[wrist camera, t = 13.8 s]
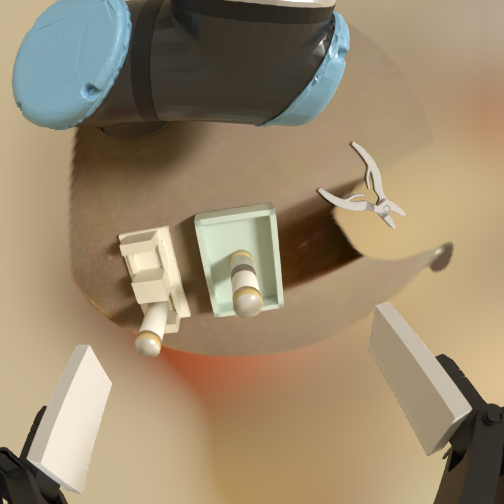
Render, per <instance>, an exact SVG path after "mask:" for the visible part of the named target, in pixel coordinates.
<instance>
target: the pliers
mask: <svg viewBox="0 0 504 504" xmlns="http://www.w3.org/2000/svg"><path fill="white" fill-rule="evenodd" d="M351 145H352V146H353V147H354V148H355V149H356V150H357V151H358V152H359V154H360V155H361V156H362V157H363V159H364V160H365V162H366V164H367V172H366V181H365V183H366V187H367V189H370V186H369V174H370V171H371V174H372V177H371V178H372V185H373V190H374V192H375V193H376V195H377V196H378V199H377V202H376V204H373V203H370V202H368V201H366V200H362V201H350V200H351V199H352V198H354V197H356V196H365V194H361V193H355V194H352V195H349V196H348V197H346V198H344V199H340V198H338V197H335V196H333V195H331V194H329V193H327V192H326V191H324V190H322V189H321V188H319V189H318V191H319V192H320V193H321V194H322V195H323V196H324V197H325V198H326V199H327V200H329V201H330V202H331V203H333V204H335V205H337V206H339V207H341V208H344V209H348V210H352V211H360V210H370V211H374V212H377V213H378V215H379V216H380V217H381V218H382V219H383V220H384V221H385V222H386V223H387V224H388V225H389V226H390V227H392V228H393V229H394V228H395V227H396V226H395V224H394V222H393V221H392V219H391V217H390V215H389V214H388V213H389V211H391V210H392V211H394V212H396V213H398V214H400V215H402V216H404V215H405V212H403V211H402V210H401V209H400V208H399V207H398V206H397V205H395V204H394V203H393V202H391V201H389V200H387V198H386V196H385V195H384V193H383V189H382V181H381V175H380V172H379V170H378V167H377V165H376V164H375V162H374V160H373V159H372V157H371V156H370V155H369V154H368V153H367V152H366V151H365V150H364V149H363V148H362V147H361V146H359V145H358V144H356V143H355V142H352V143H351Z"/></svg>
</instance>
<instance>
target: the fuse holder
mask: <svg viewBox="0 0 504 504" xmlns="http://www.w3.org/2000/svg"><path fill="white" fill-rule="evenodd" d="M119 240H120V243H121V244H120V245H119V246H120V250H121V253H122V256H124V257H125V260H126V263H127V266H128V270H129V273H130V276H131V279H132V283H131V284H132V287H133V290H134V293H135V296H136V299H137V302H138V304H140V305H141V308H142V311H143V313H144V316H145V314H146V311H147V308H148V305H149V303H152V302H160V301H168V298H169V295H170V296H171V299H172V303H171V307H170V310H169V313H168V317H167V321H166V325H165V330H164V333H173V332H178V329H179V324H180V318H182V317H190V310H189V307H188V303H187V300H186V296H185V292H184V288H183V285H182V281H181V277H180V273H179V269H178V265H177V261H176V257H175V253H174V249H173V245H172V240H171V236H170V232H169V227H168V225H166V226H160V227H155V228H149V229H144V230H138V231H133V232H127V233H122V234H120V235H119Z"/></svg>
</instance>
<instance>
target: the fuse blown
mask: <svg viewBox="0 0 504 504" xmlns="http://www.w3.org/2000/svg"><path fill="white" fill-rule="evenodd" d="M230 268H231V283H232V296H233V297H232V301H233V310H234V312H235V313H236V314H237V315H238V316H240V317H244V318H251V317H254V316H256V315H258V314H259V313H260V312H261V310H262V308H263V302H262V297H261V294H260V290H259V286H258V282H257V276H256V272H255V268H254V262H253V258H252V255H251V254H250V253H249V252H248V251H246V250H237V251H235V252H234V253H233V254H232V255H231V257H230Z"/></svg>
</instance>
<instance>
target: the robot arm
mask: <svg viewBox="0 0 504 504" xmlns="http://www.w3.org/2000/svg"><path fill="white" fill-rule="evenodd" d="M335 4H336V0H130V1H124V0H58V1H56V2H55V3H54V4H52V5H51V6H50V7H49V8H47V9H46V10H45V11H44V12H43V13H42V14H41V15H40V17H38V19H37V20H36V22H35V24H34V25H33V27H32V28H31V29H30V30H29V32H27V34H26V35H25V37H24V39H23V41H22V43H21V45H20V48H19V50H18V53H17V56H16V59H15V64H14V68H13V77H12V85H13V86H12V87H13V95H14V99H15V102H16V104H17V106H18V107H19V108H20V110H21V111H22V114H23V116H24V117H25V118H26V119H27V120H28V121H30V122H32V123H33V124H35V125H38V126H42V127H49V128H51V129H55V130H65V129H68V128H72V127H81V126H96V127H97V128H99V129H100V130H101V131H102V132H104V133H106V134H108V135H110V136H112V137H115V138H120V139H138V138H144V137H148V136H150V135H153V134H155V133H157V132H159V131H161V130H162V129H164V128H165V127H167V126H168V125H169V124H170V123H171V122H172V121H198V122H223V123H238V124H251V125H255V126H258V127H260V126H263V127H265V126H270V125H281V126H299V125H303V124H306V123H308V122H310V121H311V120H313V119H314V118H316V117H317V116H318V115H319V114H320V113H321V112H322V111H323V110H324V109H325V107H326V106H327V105H328V103H329V102H330V100H331V99H332V97H333V95H334V94H335V92H336V90H337V88H338V86H339V83H340V81H341V78H342V76H343V73H344V70H345V66H346V62H345V61H344V56H345V54H346V53H347V52H348V50H349V30H348V26H347V23H346V22H345V20H344V18H343V17H342V16H341V15H340V14H339V13H337V12H336V11H335V10H334V7H335ZM368 350H369V352H370V353H371V355H372V357H373V359H374V360H375V362H376V364H377V365H378V367H379V369H380V371H381V372H382V374H383V376H384V377H385V379H386V381H387V383H388V384H389V386H390V388H391V390H392V391H393V393H394V395H395V397H396V398H397V400H398V402H399V404H400V406H401V408H402V409H403V411H404V413H405V415H406V417H407V419H408V421H409V422H410V424H411V426H412V428H413V430H414V432H415V434H416V436H417V437H418V439H419V441H420V443H421V445H422V447H423V449H424V451H425V453H426V455H427V456H429V455H431V454H433V453H435V452H437V451H439V450H440V449H442V448H443V447H444V446H445V445H446V444H447V443H448V441H449V442H450V444H451V445H452V446H451V447H450V448H449V450H448V451H447V452H446V453H445V454H444V456H443V458H442V459H445V458H446V457H447V456H448V459H447V462H446V466H445V470H444V473H443V477H442V480H441V483H440V486H439V489H438V492H437V495H436V498H435V501H434V504H504V407H499V406H498V405H496V404H487V403H486V402H485V401H484V400H483V399H482V397H481V396H480V395H479V393H478V392H477V391H476V389H475V388H474V386H473V385H472V384H471V383H470V381H469V380H468V379H467V378H466V377H465V375H464V374H463V372H462V371H461V370H460V368H459V367H458V366H457V365H456V363H455V362H454V361H453V360H452V359H450V358H449V357H447V356H446V355H444V354H441V355H439V356H436V357H434V356H433V354H432V353H431V352H430V350H429V349H428V348H427V347H426V345H425V344H424V343H423V342H422V341H421V339H420V338H419V337H418V335H417V334H416V333H415V332H414V330H413V329H412V328H411V327H410V326H409V324H408V323H407V322H406V321H405V320H404V318H403V317H402V316H401V315H400V314H399V313H398V311H397V310H396V309H395V308H394V306H393V305H392V304H391V303H390V302H386V303H382V304H378V305H375V309H374V317H373V324H372V330H371V336H370V343H369V348H368ZM111 386H112V383H111V382H110V380H109V378H108V377H107V375H106V373H105V372H104V370H103V368H102V366H101V365H100V363H99V361H98V359H97V358H96V356H95V354H94V352H93V351H92V348H91V347H90V345H77V346H76V348H75V350H74V352H73V354H72V356H71V358H70V360H69V361H68V363H67V365H66V368H65V369H64V371H63V373H62V376H61V378H60V380H59V382H58V384H57V386H56V388H55V390H54V392H53V395H52V397H51V399H50V401H49V404H48V406H43V407H42V409H41V410H40V411H39V412H38V413H37V415H36V417H35V420H34V422H33V425H32V427H31V429H30V432H29V434H28V437H27V439H26V442H25V444H24V447H23V449H22V452H21V455H20V457H19V458H17V456H15V455H14V454H13V453H12V452H11V451H10V450H9V449H8V448H5V447H1V448H0V504H3V499H5V500H6V501H7V502H8V504H68V503H67V501H66V499H65V497H64V495H63V493H62V492H61V490H59V488H60V485H61V486H62V487H64V488H65V489H66V490H68V491H71V492H74V493H78V494H83V490H84V485H85V481H86V476H87V472H88V467H89V463H90V459H91V455H92V451H93V447H94V443H95V439H96V436H97V432H98V429H99V425H100V422H101V418H102V415H103V412H104V408H105V405H106V402H107V398H108V395H109V392H110V389H111ZM2 498H3V499H2Z"/></svg>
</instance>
